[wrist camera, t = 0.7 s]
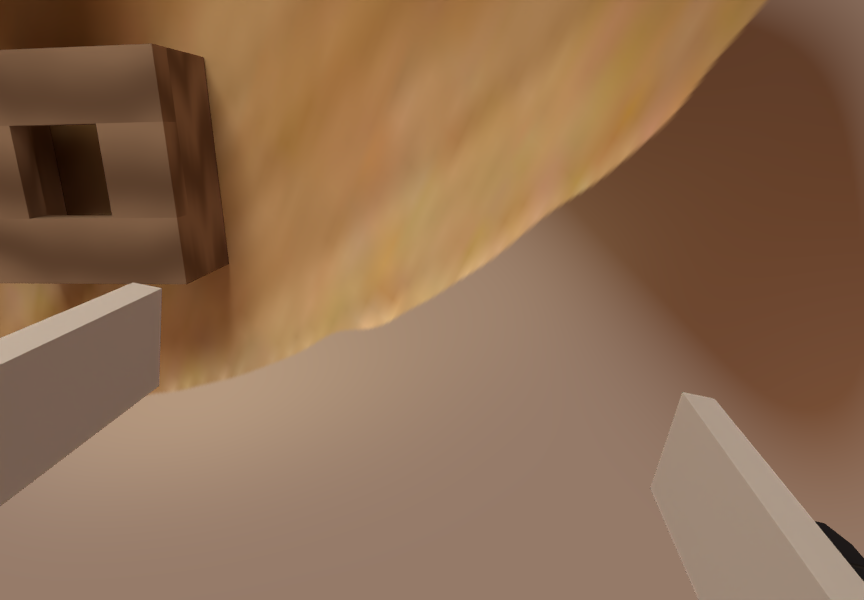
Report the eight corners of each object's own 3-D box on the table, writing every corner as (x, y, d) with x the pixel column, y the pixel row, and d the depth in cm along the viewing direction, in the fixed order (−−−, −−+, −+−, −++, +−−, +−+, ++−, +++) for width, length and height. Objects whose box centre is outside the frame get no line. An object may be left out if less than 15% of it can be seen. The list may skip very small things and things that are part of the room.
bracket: (10, 64, 39) (-73, 52, 34) (203, 57, 38) (151, 43, 32) (52, 263, 43) (-16, 282, 38) (228, 263, 42) (186, 284, 36)
